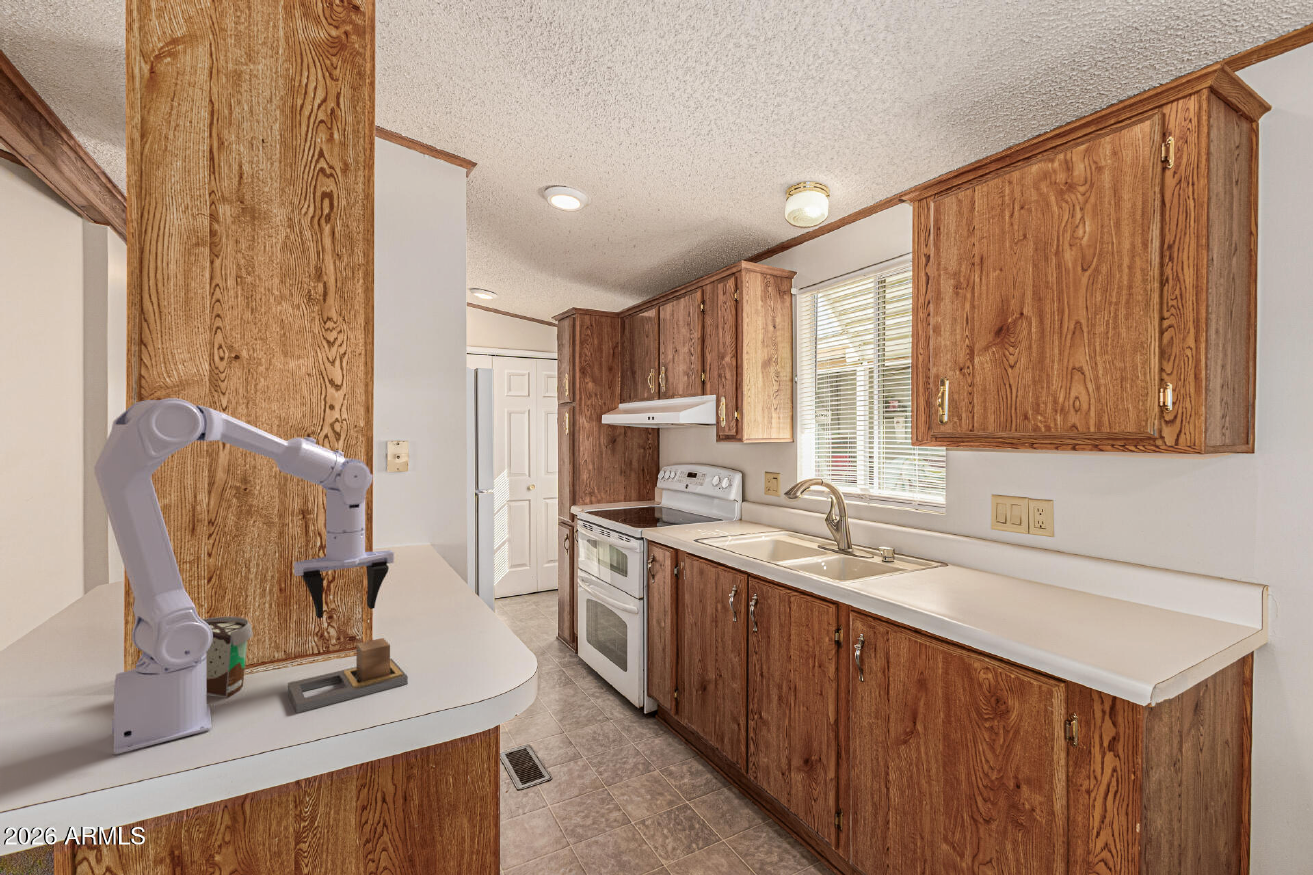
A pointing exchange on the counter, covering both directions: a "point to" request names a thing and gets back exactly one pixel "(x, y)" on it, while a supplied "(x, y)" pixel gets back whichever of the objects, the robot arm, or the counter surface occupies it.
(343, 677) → the grey slotted tray
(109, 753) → the counter surface
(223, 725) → the counter surface
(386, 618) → the counter surface
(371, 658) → the brown wooden block
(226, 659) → the food container
